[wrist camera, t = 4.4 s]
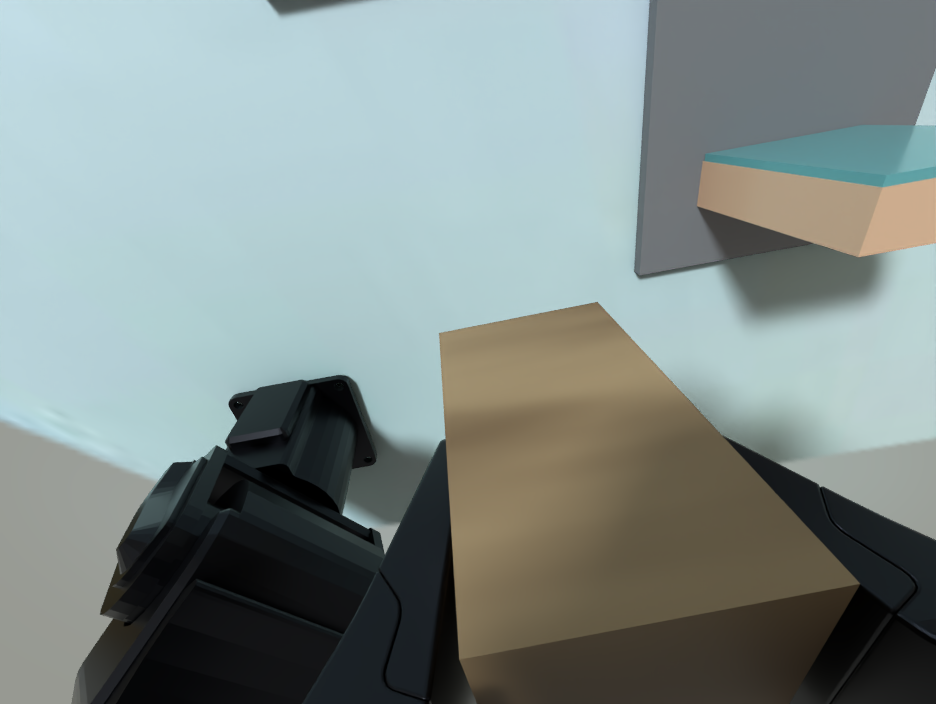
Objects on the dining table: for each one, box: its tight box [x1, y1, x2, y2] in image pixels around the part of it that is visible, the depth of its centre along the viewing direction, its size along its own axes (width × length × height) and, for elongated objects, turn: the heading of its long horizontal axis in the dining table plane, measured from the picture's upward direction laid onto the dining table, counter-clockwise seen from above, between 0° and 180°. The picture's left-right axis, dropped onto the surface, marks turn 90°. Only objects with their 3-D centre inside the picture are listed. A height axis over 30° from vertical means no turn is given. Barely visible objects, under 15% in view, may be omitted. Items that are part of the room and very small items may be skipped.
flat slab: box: [697, 125, 936, 257], centre depth 15 cm, size 2×7×8 cm, turn 99°
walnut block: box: [439, 302, 860, 704], centre depth 8 cm, size 4×4×7 cm
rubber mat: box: [634, 0, 936, 275], centre depth 16 cm, size 16×12×1 cm
